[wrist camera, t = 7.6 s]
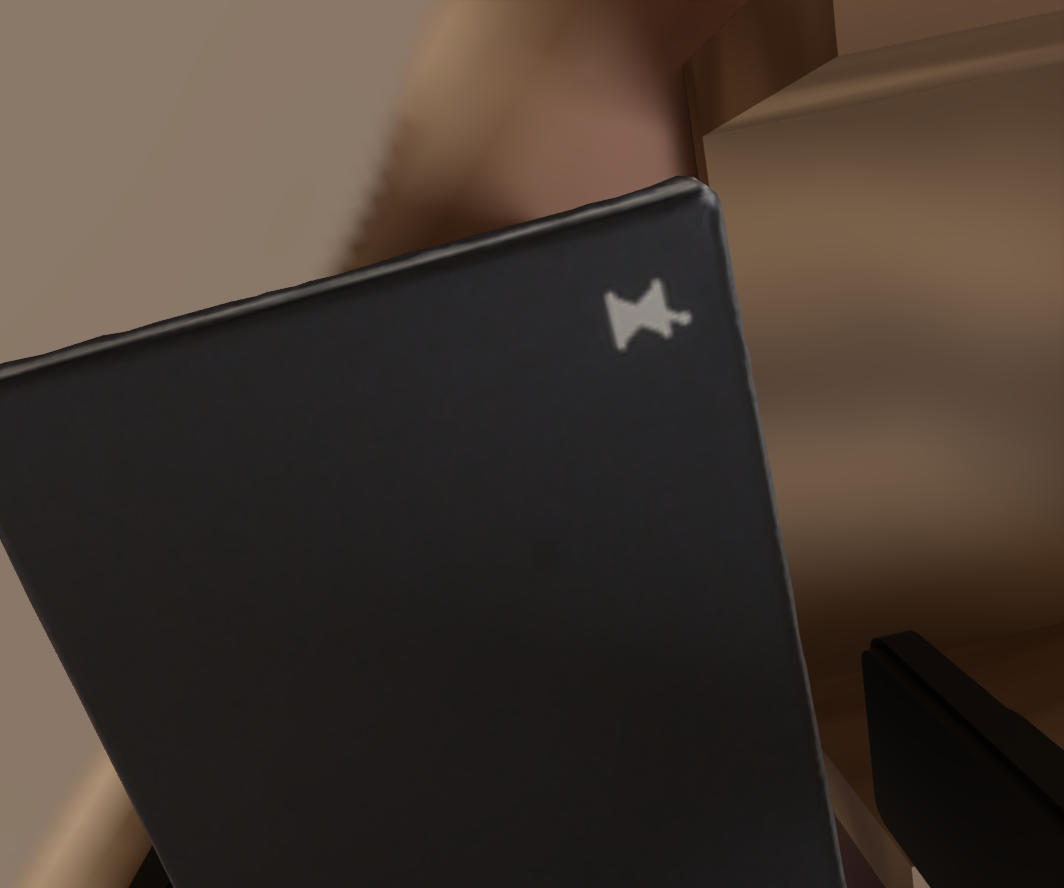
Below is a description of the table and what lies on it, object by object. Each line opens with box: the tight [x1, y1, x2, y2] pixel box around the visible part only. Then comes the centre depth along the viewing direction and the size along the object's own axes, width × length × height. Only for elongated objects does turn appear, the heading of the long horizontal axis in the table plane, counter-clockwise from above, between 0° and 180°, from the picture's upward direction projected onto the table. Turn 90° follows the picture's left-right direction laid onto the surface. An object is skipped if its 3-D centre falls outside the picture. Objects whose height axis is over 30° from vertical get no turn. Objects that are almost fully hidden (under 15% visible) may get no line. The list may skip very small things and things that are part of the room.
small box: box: [0, 176, 847, 888], centre depth 11 cm, size 11×6×10 cm, turn 15°
